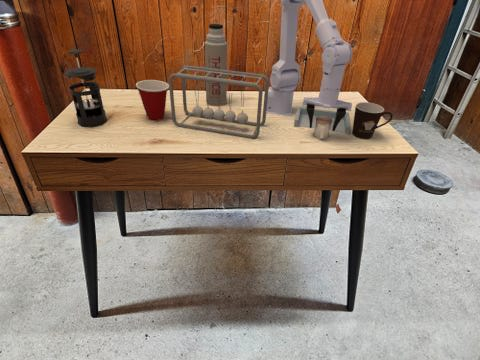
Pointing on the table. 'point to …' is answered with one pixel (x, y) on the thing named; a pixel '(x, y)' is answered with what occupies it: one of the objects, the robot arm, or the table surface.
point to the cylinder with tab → (322, 127)
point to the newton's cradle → (219, 113)
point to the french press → (87, 105)
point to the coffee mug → (367, 119)
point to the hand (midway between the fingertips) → (322, 128)
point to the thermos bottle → (216, 64)
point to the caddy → (303, 117)
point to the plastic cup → (153, 98)
